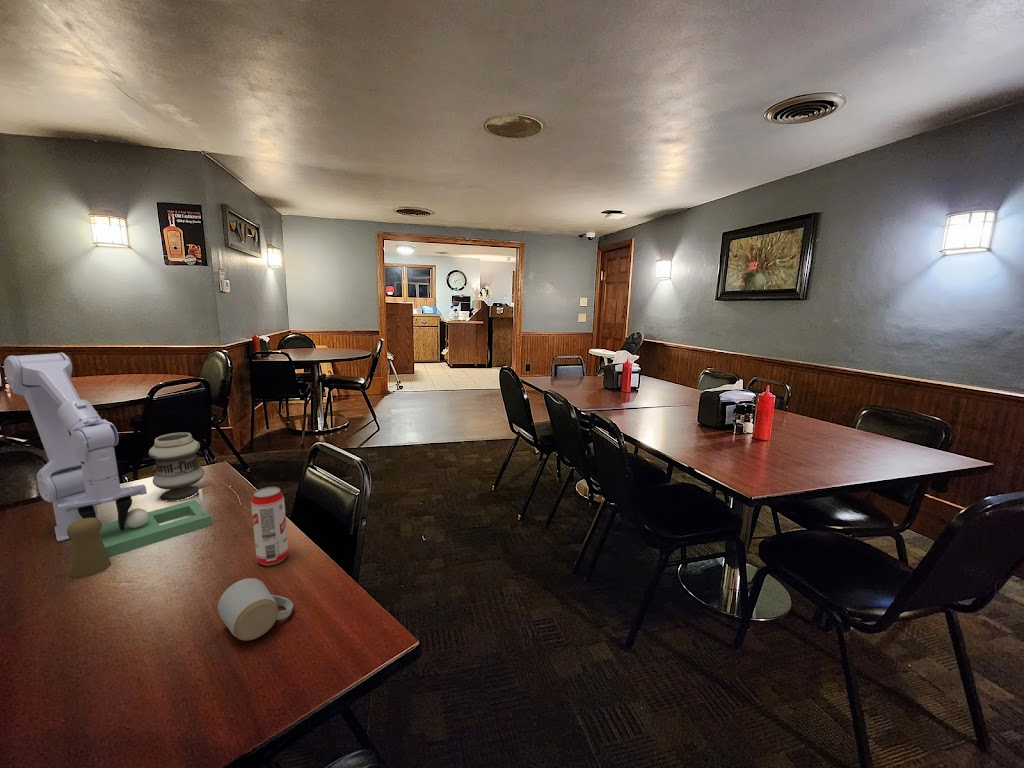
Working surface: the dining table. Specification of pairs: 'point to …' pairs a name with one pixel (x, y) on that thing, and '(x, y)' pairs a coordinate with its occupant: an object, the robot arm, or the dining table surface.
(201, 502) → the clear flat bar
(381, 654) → the dining table surface
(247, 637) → the ceramic mug
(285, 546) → the beer can
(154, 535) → the green
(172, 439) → the apothecary jar
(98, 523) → the cork
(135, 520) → the egg
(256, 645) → the dining table surface
